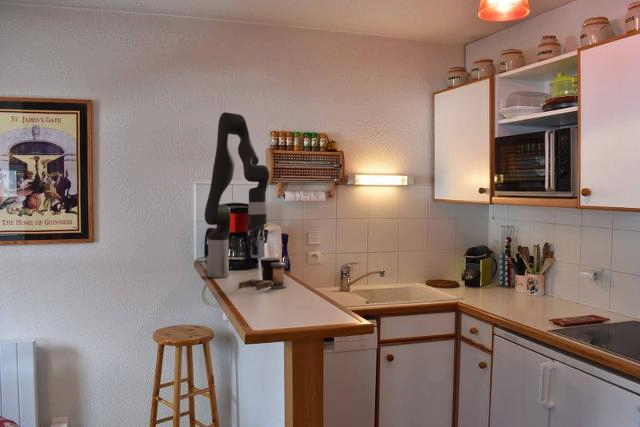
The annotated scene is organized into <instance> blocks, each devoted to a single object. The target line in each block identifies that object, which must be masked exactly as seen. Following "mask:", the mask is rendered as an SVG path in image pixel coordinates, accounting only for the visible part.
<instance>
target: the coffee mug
mask: <svg viewBox="0 0 640 427" xmlns="http://www.w3.org/2000/svg"><path fill="white" fill-rule="evenodd" d="M259 259H260V268H261V276H262V279H261V280H267V281H272V284H273V266H271V263H277V262H280V263H281V258H279V257H263V258H259Z"/></svg>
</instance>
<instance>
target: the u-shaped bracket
mask: <svg viewBox="0 0 640 427" xmlns="http://www.w3.org/2000/svg"><path fill="white" fill-rule="evenodd" d="M271 285H273V283H272V281H267V280H263V279H256V278H254V279H253V278H251V279H248V280H244V281H240V282H238V288H242V289H243V288H246V287H250V286H253V287H254V286H255V289H256V290H263V289H266V288H269V287H270V288H271Z"/></svg>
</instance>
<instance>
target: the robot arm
mask: <svg viewBox="0 0 640 427" xmlns="http://www.w3.org/2000/svg"><path fill="white" fill-rule="evenodd" d="M229 135H234V136H235V135H236V136H238V138H239V140H240V141H239V143H238V147H237V153H238V156H239V158H240V160H241V162H242V167H243V176H244V178H245V180H246V181H247V182H249V183H257V185H256V187H252V188H250V189H249V190H248V206H247V209H248V210H247V212H248V213H247V214H248V215H247V216H248V218H247V219H248V222H247V224H248V225H249V226H250V228H249V230H247V231H245V234H246V238H247V243H248V245H250V247H251V246H252V255H257V254H258V250H257V244H258V241H259V240H264V245H265V244H267V243H268V235H269V229H266V228H265V225H267V223H268V222H267V220H268V219H267V218H268V217H267V213H268V212H267V197H266V196H267V195H266V194H267V188H268V183H269V180H270V176H271V172H270V169H269V167H268V165H267V166H266V165H265V164H264V165H263V164H262V165H261V164H259V162H260V159H259V156H258V153H257V152H256V150H255V147H254V145H253V143H252V140H251V136H250V132H249V128H248V123H247V121H246V118H245V117H244V116H243V115H242V114H239V113H232V112H222V113H221V114H220V116H219V120H218V125H217V139H216V140H217V141H216V149H215V155H214V156H215V158H214V162H213V167H212V173H211V174H212V175H211V181H210V187H209V193H208V197H207V200H206V204H205V209H204V220H205V223H206V224H207V225H209V226H216V227H215V229H214V230H212V231H211V232H210V233H208V237H207V238H208V240H207V241H208V245H207V246H208V248H207V250H208V255H207V256H206V277H209V278H216V279H218V278H219V279H220V278H227V277H229V272H230V271H229V268H230V267H229V264H230V263H229V262H230V261H229V260H230V259H229V258H230V257H229V255H230V254H229V250H230V249H229V246H230V244H229V237H230V234H231V223H232V222H231V220H232V214H231V210H230V207H229V206H228V205H226V204H220V201H221V198H222V196H223V193H224V192H225V191H226V190H227V188H228V187H229V185H230V184H231V183H232V180H233V177H234V173H235V172H234V171H235V160H234V158H233V154H232V153H231V151H230V149H229V148H230V147H229Z"/></svg>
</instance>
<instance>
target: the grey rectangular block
mask: <svg viewBox="0 0 640 427" xmlns="http://www.w3.org/2000/svg"><path fill="white" fill-rule="evenodd" d="M264 240H265V239H264ZM264 240H259V241H258V244H257V250H258V254H257V255H252V246H251V245H250V250H251V251H250V256H251V257H250V258H251V259H252V258H253V259H261V258H266V257H265V256H266V255H265V254H266V253H265V250H266V248H265V247H266V246H265V244H264Z"/></svg>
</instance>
